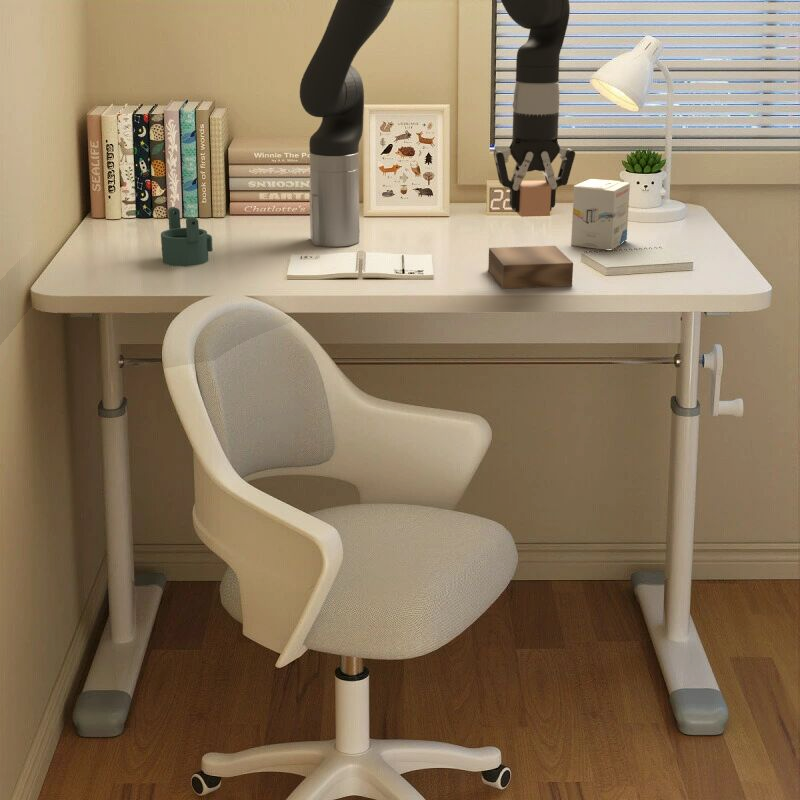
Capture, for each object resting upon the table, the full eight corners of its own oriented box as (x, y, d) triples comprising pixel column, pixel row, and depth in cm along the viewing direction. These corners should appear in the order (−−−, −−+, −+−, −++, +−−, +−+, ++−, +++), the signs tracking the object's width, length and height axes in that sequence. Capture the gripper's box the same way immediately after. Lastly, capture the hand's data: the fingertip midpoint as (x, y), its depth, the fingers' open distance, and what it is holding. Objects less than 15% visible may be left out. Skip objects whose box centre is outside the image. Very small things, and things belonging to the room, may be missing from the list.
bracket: (196, 268, 223) (194, 219, 220) (151, 263, 226) (148, 214, 223) (220, 257, 231) (218, 209, 228) (176, 252, 234) (174, 204, 231)
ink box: (586, 236, 246) (590, 177, 242) (627, 241, 242) (631, 181, 238) (569, 245, 239) (572, 184, 235) (611, 251, 235) (615, 189, 231)
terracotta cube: (521, 216, 211) (522, 187, 209) (514, 210, 215) (515, 181, 214) (550, 215, 212) (551, 186, 210) (542, 209, 216) (543, 180, 214)
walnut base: (503, 288, 211) (503, 265, 210) (488, 269, 222) (489, 247, 221) (572, 285, 213) (573, 263, 212) (554, 267, 224) (555, 245, 223)
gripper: (498, 113, 203) (495, 216, 209) (584, 111, 205) (579, 214, 211) (488, 107, 210) (486, 207, 216) (571, 105, 212) (567, 204, 218)
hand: (532, 210), depth 213 cm, fingers closed on terracotta cube, 5 cm apart
